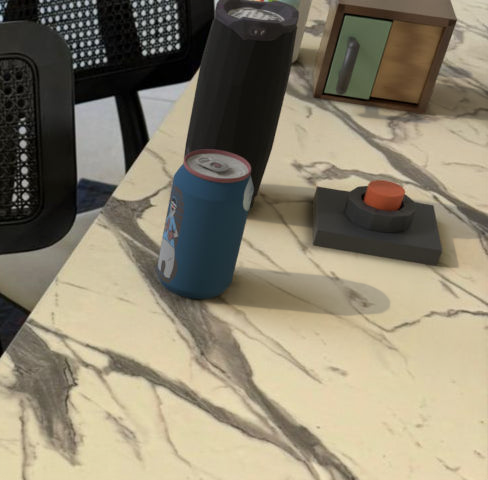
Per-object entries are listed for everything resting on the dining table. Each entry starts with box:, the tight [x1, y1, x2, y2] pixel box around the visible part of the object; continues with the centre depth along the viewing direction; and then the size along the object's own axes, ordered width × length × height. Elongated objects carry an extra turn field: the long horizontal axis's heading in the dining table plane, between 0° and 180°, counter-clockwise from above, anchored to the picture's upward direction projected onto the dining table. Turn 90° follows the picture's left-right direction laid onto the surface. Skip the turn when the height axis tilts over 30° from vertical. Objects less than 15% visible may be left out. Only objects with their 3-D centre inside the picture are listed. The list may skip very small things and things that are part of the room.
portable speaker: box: [182, 0, 299, 211], centre depth 101 cm, size 9×9×20 cm
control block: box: [312, 185, 443, 267], centre depth 103 cm, size 12×10×4 cm
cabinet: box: [312, 0, 458, 116], centre depth 130 cm, size 14×10×12 cm
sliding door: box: [324, 15, 392, 99], centre depth 125 cm, size 6×5×9 cm
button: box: [363, 179, 406, 211], centre depth 102 cm, size 4×4×2 cm
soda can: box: [156, 149, 254, 300], centre depth 91 cm, size 7×7×12 cm
